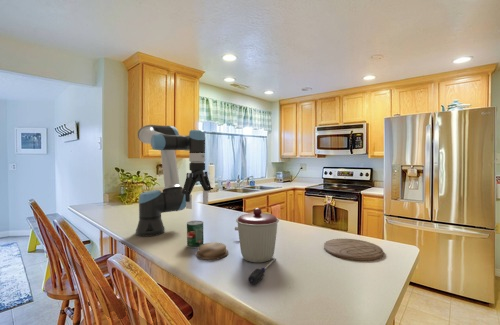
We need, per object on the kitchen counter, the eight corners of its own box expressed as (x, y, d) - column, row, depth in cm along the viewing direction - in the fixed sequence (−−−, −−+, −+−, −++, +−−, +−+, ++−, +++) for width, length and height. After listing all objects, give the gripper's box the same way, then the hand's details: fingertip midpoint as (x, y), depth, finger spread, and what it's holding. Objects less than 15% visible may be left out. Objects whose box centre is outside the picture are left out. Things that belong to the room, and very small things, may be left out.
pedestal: (189, 256, 114) (189, 249, 114) (208, 246, 126) (208, 240, 126) (217, 262, 108) (217, 254, 107) (234, 251, 120) (234, 244, 120)
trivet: (313, 246, 127) (313, 242, 127) (353, 239, 137) (353, 236, 137) (350, 265, 104) (350, 261, 104) (396, 256, 114) (396, 252, 113)
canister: (281, 252, 119) (281, 205, 118) (276, 268, 101) (276, 213, 100) (241, 249, 122) (241, 203, 122) (230, 265, 105) (230, 211, 104)
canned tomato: (206, 243, 131) (206, 221, 131) (198, 248, 123) (198, 225, 123) (192, 241, 133) (192, 220, 133) (183, 246, 126) (183, 223, 126)
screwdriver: (271, 258, 111) (271, 249, 111) (279, 259, 110) (279, 250, 110) (246, 286, 87) (246, 275, 87) (256, 288, 86) (256, 277, 86)
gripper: (187, 163, 115) (187, 211, 116) (217, 161, 138) (217, 202, 139) (173, 162, 119) (174, 210, 119) (205, 161, 141) (205, 201, 142)
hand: (197, 206), depth 129 cm, fingers open, 13 cm apart
